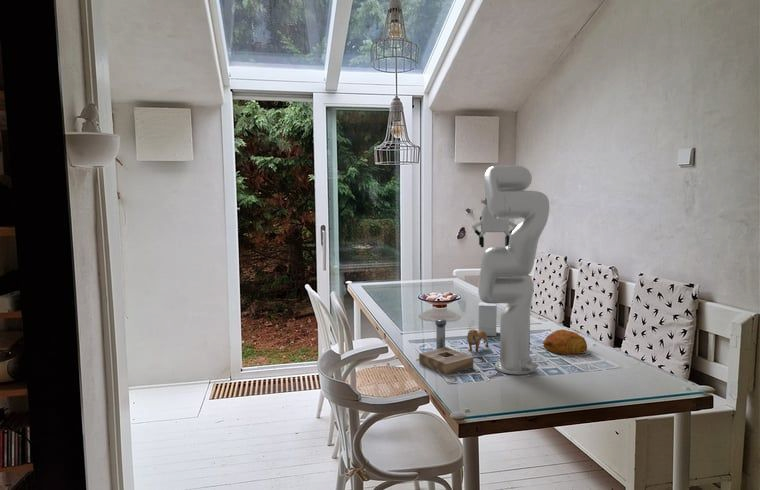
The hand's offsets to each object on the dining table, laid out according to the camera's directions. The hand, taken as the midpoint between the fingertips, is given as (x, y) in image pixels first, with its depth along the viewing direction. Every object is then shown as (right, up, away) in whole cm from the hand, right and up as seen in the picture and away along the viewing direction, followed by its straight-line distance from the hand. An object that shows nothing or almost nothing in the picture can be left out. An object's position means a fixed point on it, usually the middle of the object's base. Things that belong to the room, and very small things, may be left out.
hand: (494, 246), depth 199 cm
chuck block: (-22, -40, -24) cm, 52 cm away
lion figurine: (-8, -39, -8) cm, 40 cm away
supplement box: (0, -36, +14) cm, 39 cm away
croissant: (+24, -38, -8) cm, 46 cm away
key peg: (-22, -39, -10) cm, 46 cm away
